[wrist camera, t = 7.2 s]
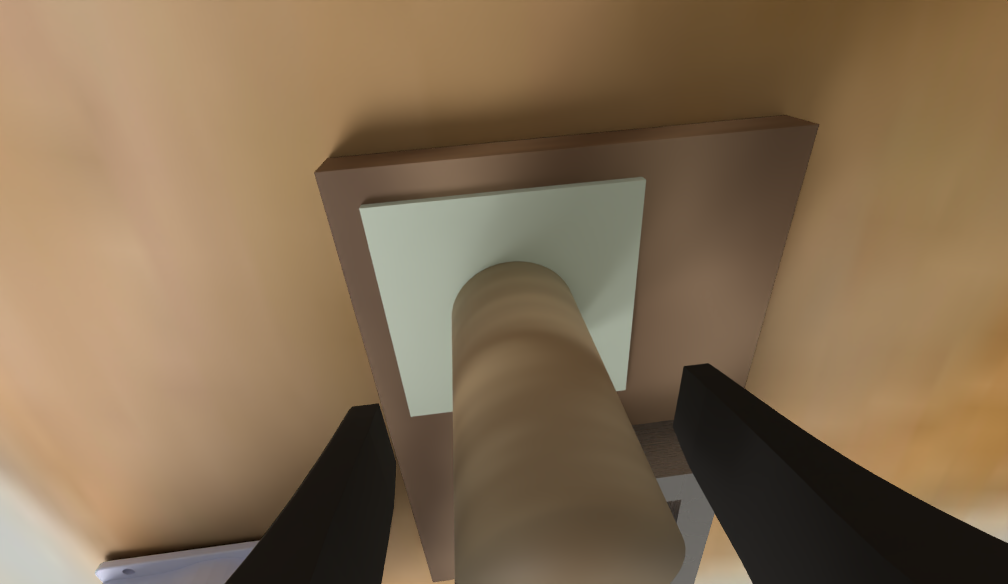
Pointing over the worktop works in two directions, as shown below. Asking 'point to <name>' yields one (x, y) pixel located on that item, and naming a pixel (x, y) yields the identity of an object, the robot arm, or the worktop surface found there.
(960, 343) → the worktop surface
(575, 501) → the maple peg
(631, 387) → the walnut board
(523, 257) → the pad
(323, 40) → the worktop surface
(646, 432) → the grey square frame
